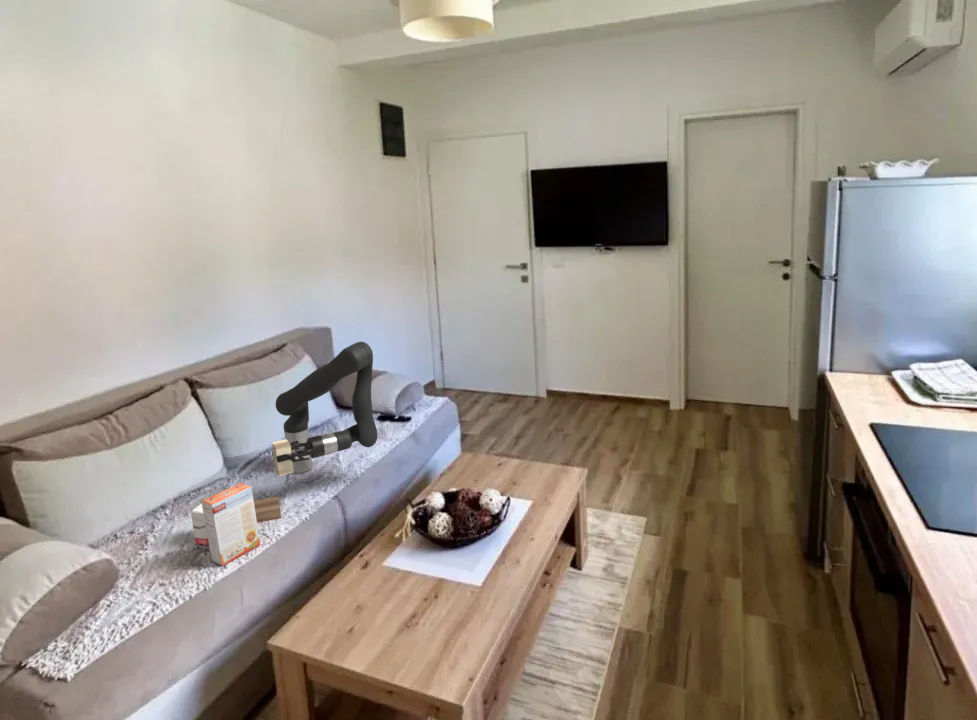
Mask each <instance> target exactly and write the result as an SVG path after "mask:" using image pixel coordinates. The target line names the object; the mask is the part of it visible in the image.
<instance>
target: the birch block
mask: <svg viewBox="0 0 977 720" xmlns="http://www.w3.org/2000/svg"><path fill="white" fill-rule="evenodd" d="M271 447H272V451H273V455H274V457H273V461H274V469H275V472H276V474H277V475H278V476H279V477H282V476H286V475H290V474H295V473H294V470H293V462H292V460H291V461H289V460H287V461H283V462H277V459H276V457H277V456H279V455H283V454H287V455H288V453H291V446H290V443H289V442H288V441H287V439H285V438H284V439H282V440H276V441H272V442H271ZM273 455H272V456H273Z"/></svg>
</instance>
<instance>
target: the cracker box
mask: <svg viewBox="0 0 977 720" xmlns="http://www.w3.org/2000/svg"><path fill="white" fill-rule="evenodd" d="M254 501H255V500H254V495H253V489H252V486H250V485H248V484H245V483H242V482H239V483H237V484H236V485H233V486H231V487H229V488H226V489H224V490H223V491H220V492H218V493H216V494H213V495H211V496H208V497H207V498H205V499H204V498H203V499H202V500H201V503H202V508H203V514H204V519H205V525H206V530H207V536H208V541H209V545H208V547H209V553H210V557H211V561H212V562H213V561H214V563H215V562H216V563H215V564H218V565H220V566H222V567H223V566H225V565H228V564H229V563H231V562H233V561H235V560H237V559H238V558H239V557H241V556H243V555H245V554H247V553H249V552H250V551H252V550H254V549H255V548H257V547H259V546H261V541H260V535H259V527H258V523H257V520H256V513H255V507H254Z"/></svg>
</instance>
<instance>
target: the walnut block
mask: <svg viewBox="0 0 977 720" xmlns="http://www.w3.org/2000/svg"><path fill="white" fill-rule="evenodd" d="M254 507H255V513H256V520H257V522H260V523H264V522H263V521H265V522H268V521H269V520H270V521H274V519H275V520H279V518H280V519H282V515H281V514H282V513H281V508H280V507H281V505H280V500H279V496H278V495H277V496H273V497H272V496H271V497H266V498H261V499H255V500H254Z"/></svg>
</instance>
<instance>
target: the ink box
mask: <svg viewBox="0 0 977 720" xmlns="http://www.w3.org/2000/svg"><path fill="white" fill-rule="evenodd" d="M190 512H191V513H190V514H191V521H192V529H193V536H194V544H195V545H200V544H203V545H202V546H209V541H208V536H207V530H206V525H205V519H204V514H203V508H202V502H201V503H200V504H199V505H197V506H196V507H194V508H193V509H192V510H191V511H190Z"/></svg>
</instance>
